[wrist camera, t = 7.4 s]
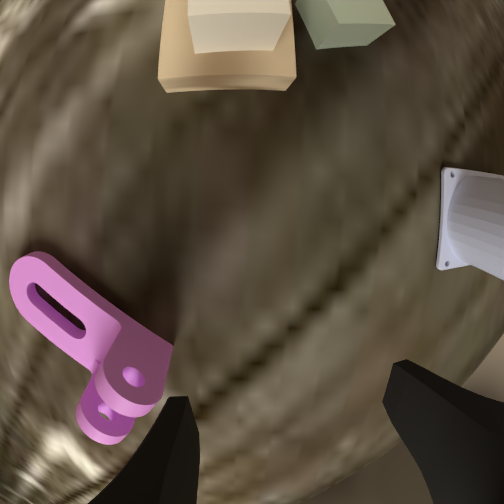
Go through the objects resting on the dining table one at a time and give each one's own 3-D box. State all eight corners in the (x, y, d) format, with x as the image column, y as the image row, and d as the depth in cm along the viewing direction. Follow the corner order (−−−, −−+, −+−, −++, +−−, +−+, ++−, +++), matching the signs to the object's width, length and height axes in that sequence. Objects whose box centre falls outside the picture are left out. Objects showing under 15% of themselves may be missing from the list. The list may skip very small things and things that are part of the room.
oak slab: (279, 6, 13) (289, -17, 11) (283, 92, 15) (296, 77, 12) (174, 6, 13) (168, -17, 10) (167, 94, 15) (157, 79, 12)
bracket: (173, 344, 19) (158, 416, 12) (139, 387, 19) (120, 453, 13) (31, 235, 15) (-33, 264, 9) (12, 291, 16) (-39, 330, 10)
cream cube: (266, -4, 11) (280, -44, 7) (273, 50, 12) (291, 14, 8) (194, -2, 10) (189, -43, 7) (194, 53, 12) (187, 16, 8)
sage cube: (344, 2, 13) (367, -24, 9) (366, 46, 14) (395, 24, 11) (294, 4, 13) (310, -27, 9) (315, 50, 14) (339, 23, 10)
